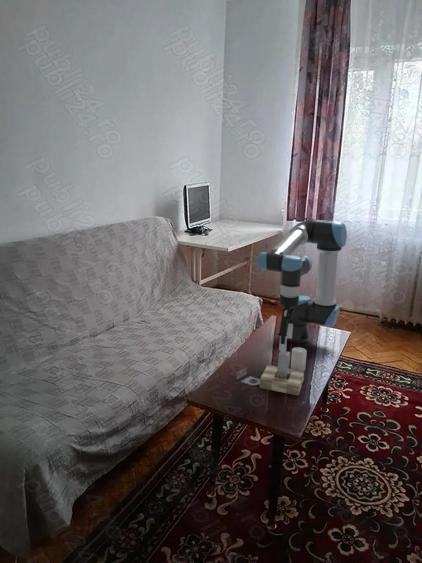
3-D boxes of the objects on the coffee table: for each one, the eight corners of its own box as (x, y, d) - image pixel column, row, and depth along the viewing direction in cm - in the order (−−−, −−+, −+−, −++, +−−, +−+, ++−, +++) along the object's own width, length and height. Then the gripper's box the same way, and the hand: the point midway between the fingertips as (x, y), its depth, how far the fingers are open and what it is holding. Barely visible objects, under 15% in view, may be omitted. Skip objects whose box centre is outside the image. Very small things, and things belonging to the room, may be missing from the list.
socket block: (267, 373, 184) (267, 364, 183) (303, 380, 179) (304, 371, 178) (259, 387, 171) (260, 378, 170) (298, 395, 166) (299, 386, 165)
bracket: (255, 388, 171) (255, 380, 170) (236, 380, 178) (236, 372, 177) (264, 383, 176) (264, 375, 175) (245, 375, 182) (245, 367, 181)
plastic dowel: (291, 364, 193) (293, 346, 191) (305, 366, 191) (307, 348, 189) (289, 370, 187) (291, 352, 185) (304, 372, 185) (305, 354, 183)
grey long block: (278, 380, 177) (280, 350, 174) (287, 382, 176) (290, 352, 173) (276, 384, 174) (278, 354, 170) (285, 386, 172) (288, 355, 169)
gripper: (285, 285, 177) (282, 331, 183) (273, 302, 155) (270, 354, 161) (303, 287, 175) (299, 334, 181) (293, 305, 152) (289, 358, 158)
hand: (285, 344), depth 171 cm, fingers open, 13 cm apart
